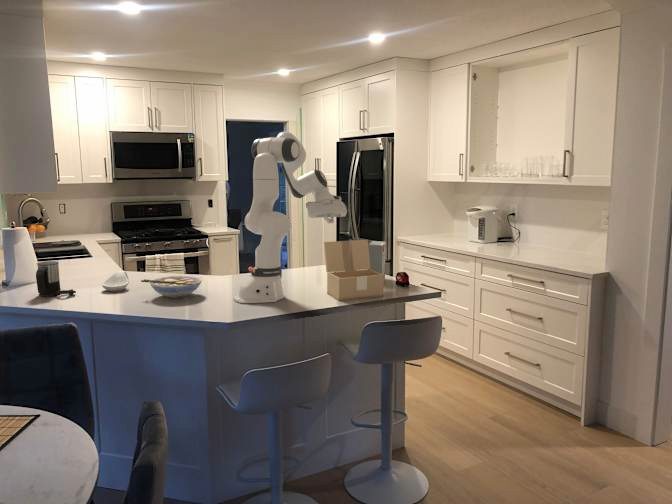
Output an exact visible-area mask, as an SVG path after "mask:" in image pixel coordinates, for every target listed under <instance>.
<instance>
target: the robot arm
mask: <svg viewBox="0 0 672 504" xmlns="http://www.w3.org/2000/svg"><path fill="white" fill-rule="evenodd" d="M251 144H252V145H251V148H250V150H251V155H252V158H253V159H254V160H253V169H252V179H253V180H252V183H253V184H252V186H253V187H252V188H253V191H252V192H253V193H252V194H253V196H252V203H251V206H250V210H249V212H247V214H246V216H245V217H244V226H245V228H246V229H247V230H248V231H250V232H251V233H253V234H255V235H261V239H260V243H259V245H257V247H256V248H255V253H254V254H255V255H254V256H255V261H254V262H255V266H254V267H253V266H249V267H248V271H249V272H250V273H251V274H250V276H248V277H247V278H246V279H244V280H243V282H241V283H240V284H239V287H238V293H236V294H234V295H233V300H234V301H235V302H236V303H240V304H259V303H260V304H261V303H275V302H278V301H279V300H282V299H284V298H285V294H284V290H283V286H282V285H283V284H282V278H283V277H282V276H283V271H282V266H281V248H282V244H283V241H284V239H285V237H286V236H287V235H288V234H289V233H290V231H291V228H292V222H291V220H290V217H289V216H287V215H286V214H285V213H282V212H280V211H273V210H274V205H275V203H276V201H277V200H278V199H279V198H280V197H279V196H280V182H279V181H280V178H279V168H278V164H279V163H280V166H281V167H280V168H281V171H282V172H283V175H284V178H285V180H286V183H287V184H288V187H289V191H290V193H291V195H292V196H293V197H294V198H297V199H302V198H304V197H306V196H308V194H311V195H313V200H314V201H307V202H306V203H305V207H306V209H307V216H308V217H309V218H311V219H313V218H314V219H315V218H316V219H317V218H320V219H321V218H323V219H324V220H325V221H326V222H327V224H334V222H335V220H334V218H340V217H341V218H343V217H346V216H347V213H348V209H347V206H346V204H345V202H343V201H342V197H341V196H338V195H334V194H331V192H330V189H329V185H328V181H327V179H326V175H325V174H324V173H323V172H322V171H321V170H318V169H312V170H311V171H309V172H306V173H305V174H302V175H301V176H299V177H295V176H294V173H295V172H296V171H297V170H298V169H299V168H300V167H302V166H303V165H304V163H305V162H306V160H307V159H306V158H307V152H306V149H305V147H304V146H303V144H302V143H301V141H300V140H299V139H298V138H297V137H296V136H295V135H294V134H293V133H291V132H290V131H282V132H279V133H278V134H277V136H276V137H275V136H271V137H270V136H269V137H259V138H257V139H255V140H254V141H253V142H252V143H251Z"/></svg>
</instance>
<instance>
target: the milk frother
mask: <svg viewBox="0 0 672 504" xmlns="http://www.w3.org/2000/svg"><path fill="white" fill-rule="evenodd" d="M59 263H60V262H59V261H55V260H54V261H51V260H48V261H47V260H46V261H40V262H36V265H37V270H36V271H35V281H36V286H37V293H39V294H38V296H39V297H54V296H55V297H56V296H59V295H68V296H73V295H74V294H76V293H77V291H76V290H74V289H72V288H71V289H67V290H66V289H64V290H61V284H60V283H61V282H60V280H61V279H60V269H59Z"/></svg>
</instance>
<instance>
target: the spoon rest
mask: <svg viewBox="0 0 672 504" xmlns="http://www.w3.org/2000/svg"><path fill="white" fill-rule="evenodd" d="M129 282H130V280H129V276H128V274H127V272H126V271H125V270H117V271H116V272H114V273H113V274H112V275H111V276H109V277H108V278H107V279H105V280H104V281H102V283H101V286H102V288H103V289H105V290H106V291H108V292H121V291H123V290H125V289H126V288H127V287H128V286H129Z"/></svg>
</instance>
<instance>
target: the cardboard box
mask: <svg viewBox="0 0 672 504" xmlns="http://www.w3.org/2000/svg"><path fill="white" fill-rule="evenodd" d="M326 274H327V275H326V279H327V281H326V283H327V284H326V292H327V293H326V294H327V295H328V296H330V297H331V298H333V299H335V300H336V301H338V302H341V301H354V300H362V299H364V300H365V299H373V298H383V297H384V289H385V286H384V284H385V279H384V275H383V274H380V273H378V272H375V271H373V270H371V269H368V270H367V269H364V270H356V271H338V272H326Z"/></svg>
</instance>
